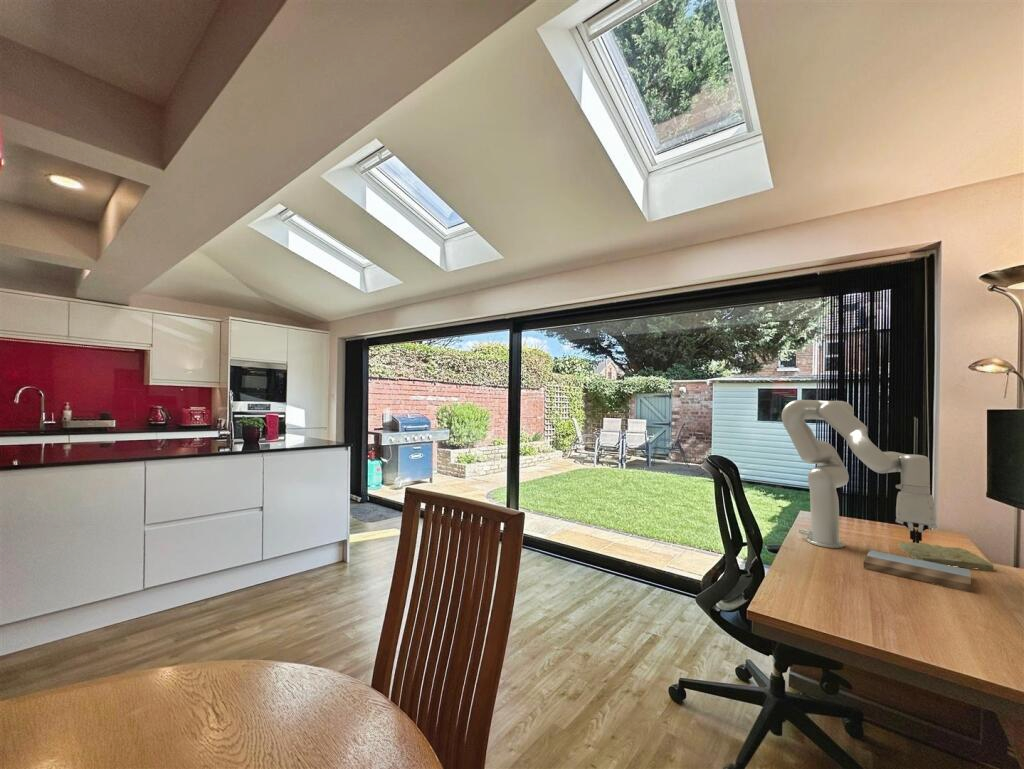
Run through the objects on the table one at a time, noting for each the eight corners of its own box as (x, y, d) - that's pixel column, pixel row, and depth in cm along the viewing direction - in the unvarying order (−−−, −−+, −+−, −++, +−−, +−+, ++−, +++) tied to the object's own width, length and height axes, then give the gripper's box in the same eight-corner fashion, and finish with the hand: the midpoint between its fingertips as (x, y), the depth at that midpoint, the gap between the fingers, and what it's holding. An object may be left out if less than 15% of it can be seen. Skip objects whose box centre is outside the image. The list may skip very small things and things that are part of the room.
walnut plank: (863, 568, 153) (863, 561, 153) (866, 562, 158) (866, 556, 158) (971, 592, 134) (971, 584, 134) (970, 584, 140) (970, 577, 140)
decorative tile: (994, 572, 151) (994, 562, 151) (922, 565, 158) (921, 555, 158) (960, 554, 169) (960, 545, 169) (896, 548, 175) (896, 539, 175)
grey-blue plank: (867, 561, 159) (866, 555, 159) (870, 555, 164) (869, 550, 164) (970, 583, 140) (970, 577, 140) (970, 575, 146) (969, 569, 146)
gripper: (886, 488, 157) (887, 539, 156) (944, 495, 146) (945, 550, 146) (888, 485, 162) (889, 535, 162) (945, 491, 152) (946, 545, 151)
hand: (916, 542), depth 154 cm, fingers closed
